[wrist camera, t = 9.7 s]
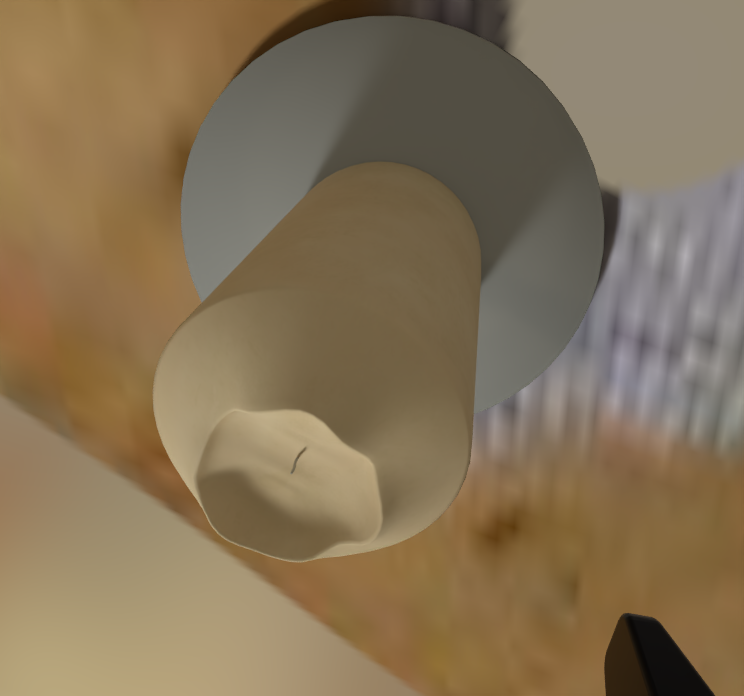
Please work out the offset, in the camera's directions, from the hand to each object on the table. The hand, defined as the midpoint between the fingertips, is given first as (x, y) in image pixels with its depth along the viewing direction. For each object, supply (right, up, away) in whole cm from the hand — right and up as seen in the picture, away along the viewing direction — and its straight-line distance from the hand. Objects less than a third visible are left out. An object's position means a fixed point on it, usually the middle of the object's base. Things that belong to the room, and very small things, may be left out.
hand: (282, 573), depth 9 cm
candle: (+2, +6, +10) cm, 11 cm away
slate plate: (+2, +6, +10) cm, 12 cm away
